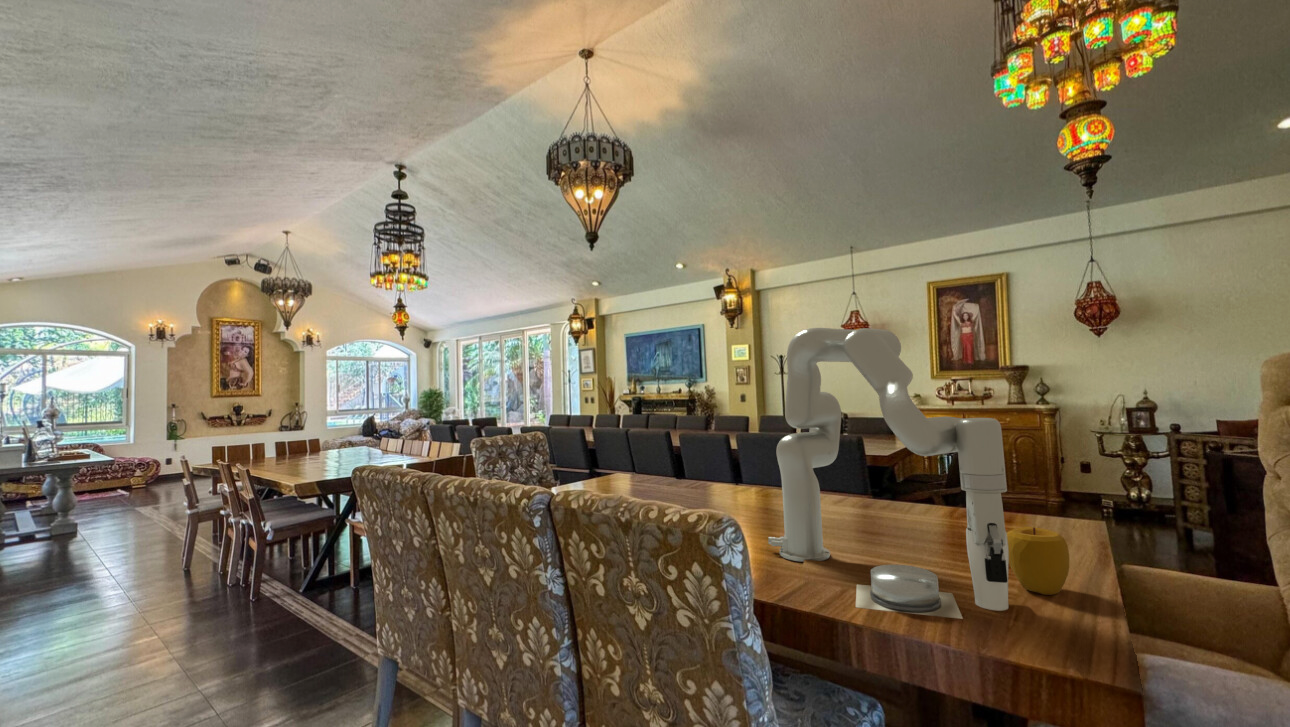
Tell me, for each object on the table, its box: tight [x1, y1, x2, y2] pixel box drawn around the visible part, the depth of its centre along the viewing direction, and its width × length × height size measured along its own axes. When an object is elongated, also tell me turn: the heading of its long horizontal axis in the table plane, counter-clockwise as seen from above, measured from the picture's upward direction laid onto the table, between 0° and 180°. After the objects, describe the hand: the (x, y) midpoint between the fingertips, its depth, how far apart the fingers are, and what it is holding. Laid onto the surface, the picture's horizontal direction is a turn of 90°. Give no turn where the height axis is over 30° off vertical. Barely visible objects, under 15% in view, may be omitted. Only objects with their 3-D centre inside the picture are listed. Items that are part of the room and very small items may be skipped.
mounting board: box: [855, 583, 964, 620], centre depth 106 cm, size 18×13×1 cm
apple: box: [1006, 526, 1070, 596], centre depth 111 cm, size 11×11×13 cm
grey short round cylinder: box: [870, 564, 941, 614], centre depth 106 cm, size 13×13×5 cm
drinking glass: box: [965, 527, 1010, 612], centre depth 103 cm, size 7×7×15 cm
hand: (991, 573), depth 102 cm, fingers open, 9 cm apart
